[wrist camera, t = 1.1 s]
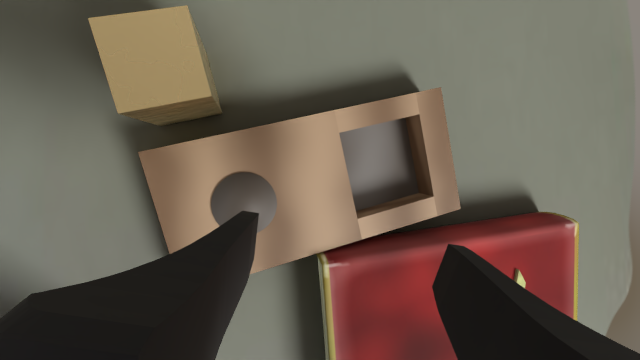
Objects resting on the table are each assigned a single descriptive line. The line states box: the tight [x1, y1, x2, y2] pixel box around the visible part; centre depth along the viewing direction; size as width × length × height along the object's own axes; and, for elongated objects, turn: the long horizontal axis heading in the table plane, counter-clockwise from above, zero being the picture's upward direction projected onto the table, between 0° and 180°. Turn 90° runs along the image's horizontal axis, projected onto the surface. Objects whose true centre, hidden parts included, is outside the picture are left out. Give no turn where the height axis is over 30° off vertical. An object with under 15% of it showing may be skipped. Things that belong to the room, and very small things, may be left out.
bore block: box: [138, 87, 461, 274], centre depth 22 cm, size 20×9×3 cm, turn 103°
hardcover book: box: [316, 212, 579, 360], centre depth 25 cm, size 12×21×4 cm, turn 94°
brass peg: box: [88, 6, 222, 126], centre depth 17 cm, size 4×4×7 cm
